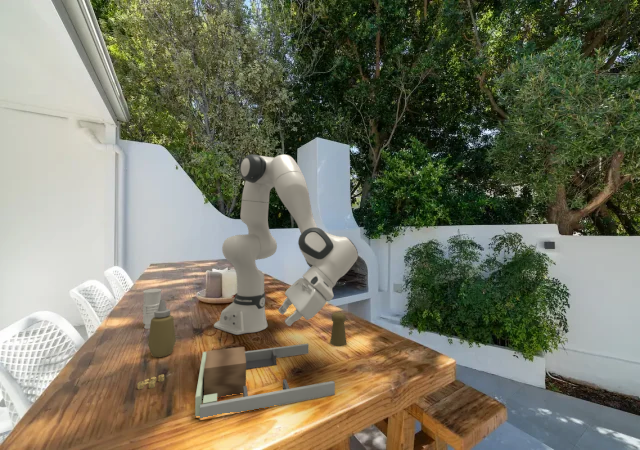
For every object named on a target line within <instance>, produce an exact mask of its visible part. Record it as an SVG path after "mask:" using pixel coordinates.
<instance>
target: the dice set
mask: <svg viewBox="0 0 640 450" xmlns="http://www.w3.org/2000/svg"><path fill="white" fill-rule="evenodd" d="M157 379H158V380H157ZM164 381H165V374H164V373H163V374H162V373H161V374H159V375H158V377H156V376H152V377H151V378H150V379H149V378H147V379H144V381H139V382H137V384H136V386H137V387H136V388H137V390H143V389H144V387H145V386H148V389H153V388H155V386H156V382H159V383H160V382H161V383H162V382H164Z"/></svg>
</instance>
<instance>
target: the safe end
mask: <svg viewBox="0 0 640 450" xmlns="http://www.w3.org/2000/svg"><path fill="white" fill-rule="evenodd" d="M201 356H202V357H201V361H200V368H199V374H198V381H197V386H196V392H195V397H194V398H195V402H194V404H195V408H194V409H195V410H194V411H195V414H194V417H195V416H200V405H202V404H208V403H213V402H218V398H217V393H215V394H210V395H204V392H203V391H204V367H205V362H206V356H207V351H202V355H201ZM202 399H203V400H202Z"/></svg>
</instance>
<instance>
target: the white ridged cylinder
mask: <svg viewBox="0 0 640 450" xmlns="http://www.w3.org/2000/svg"><path fill="white" fill-rule="evenodd" d="M162 291H163V290H162V288H149V289H144V290H142V292H143V304H142V316H143V317H142V324H144V327H143V328H144V329H146V330H147V329H148V330H150V324H151V320H152V319H153V318H154V312H155V311H156V310H158V308H159V304H160V300H161V299H162Z"/></svg>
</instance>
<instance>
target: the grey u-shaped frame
mask: <svg viewBox="0 0 640 450" xmlns="http://www.w3.org/2000/svg"><path fill="white" fill-rule="evenodd" d="M309 346H310V345H309V343H302V344H301V343H299V344H292V345H287V346H278V347H270V348H262V349H254V350H245V357H246V371H247V370H251V369H260V368H266V367H272V366H277V362H278V361H277V359H278V358H279V359H280V358H286V357H287V358H288V357H293V356H301V355H307V354H309V352H310V351H309V348H310V347H309ZM335 391H336V383H335V381H334V380H330V381H326V382H325V381H324V382H319V383H314V384H309V385H303V386H298V387H291V388H290V386H289V384H288V381H287V379H285V378H284V379H282V389H281V390H274V391H271V392H265V393H264V392H263V393H259V394H253V395H249V393H248V385H246V386H243V394H242V397H235V398H231V399H225V400H220V401H217V402H213V403H208V404H203V403H202V405H200V418H203V417H208V416H213V415H217V414H222V413H230V412H241V411H247V410H254V409H259V408H264V409H266V408H265V407H269V408H271V407H270V406H274V405H279V406H283V405H288V404H294V403H299V402H303V401H304V402H305V401H309V400H315V399H318V398H325V397H330V396H334V395H335V393H336V392H335ZM282 404H283V405H282ZM274 407H275V406H274ZM259 410H260V409H259ZM254 411H255V410H254ZM200 418H199V419H200Z"/></svg>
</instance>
